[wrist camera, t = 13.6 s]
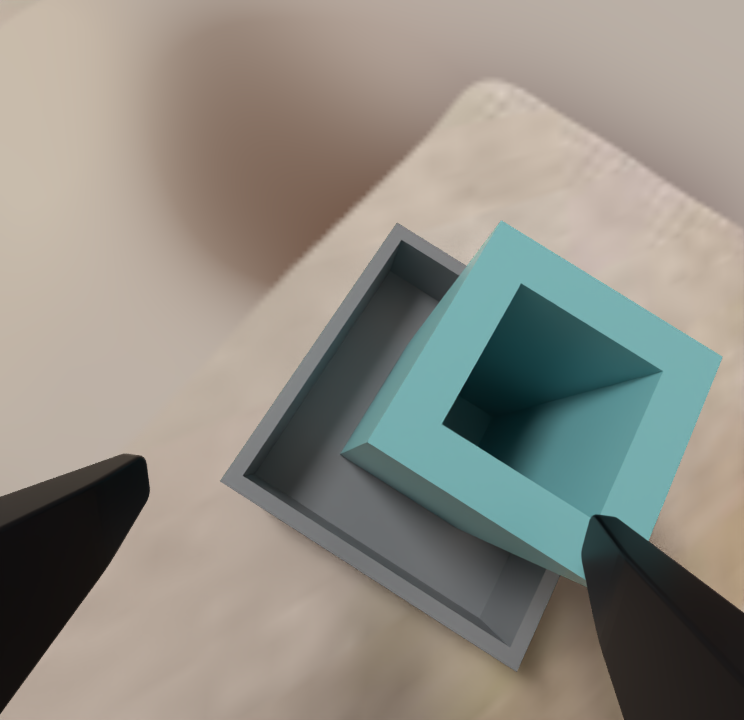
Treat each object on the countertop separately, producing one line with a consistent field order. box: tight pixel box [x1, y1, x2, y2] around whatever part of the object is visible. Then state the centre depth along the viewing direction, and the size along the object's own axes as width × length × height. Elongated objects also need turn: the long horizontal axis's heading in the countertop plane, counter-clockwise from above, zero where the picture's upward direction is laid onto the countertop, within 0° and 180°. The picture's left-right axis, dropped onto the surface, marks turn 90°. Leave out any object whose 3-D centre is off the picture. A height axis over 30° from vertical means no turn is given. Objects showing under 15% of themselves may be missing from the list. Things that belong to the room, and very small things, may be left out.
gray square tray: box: [220, 223, 560, 672], centre depth 21 cm, size 13×13×4 cm
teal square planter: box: [340, 221, 722, 587], centre depth 16 cm, size 6×6×12 cm
